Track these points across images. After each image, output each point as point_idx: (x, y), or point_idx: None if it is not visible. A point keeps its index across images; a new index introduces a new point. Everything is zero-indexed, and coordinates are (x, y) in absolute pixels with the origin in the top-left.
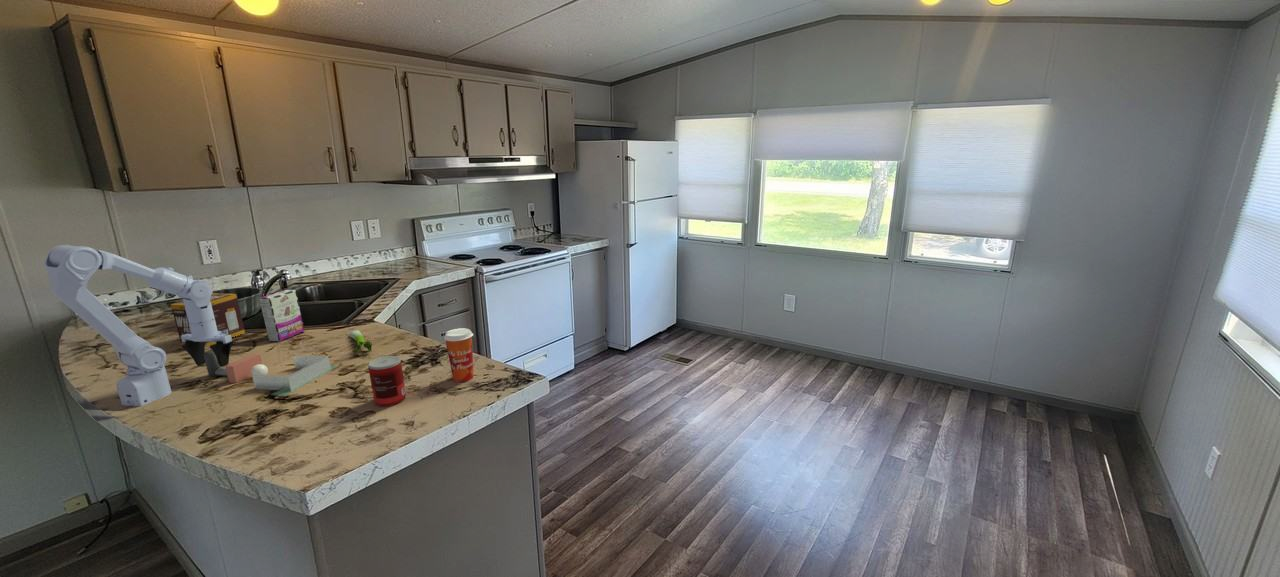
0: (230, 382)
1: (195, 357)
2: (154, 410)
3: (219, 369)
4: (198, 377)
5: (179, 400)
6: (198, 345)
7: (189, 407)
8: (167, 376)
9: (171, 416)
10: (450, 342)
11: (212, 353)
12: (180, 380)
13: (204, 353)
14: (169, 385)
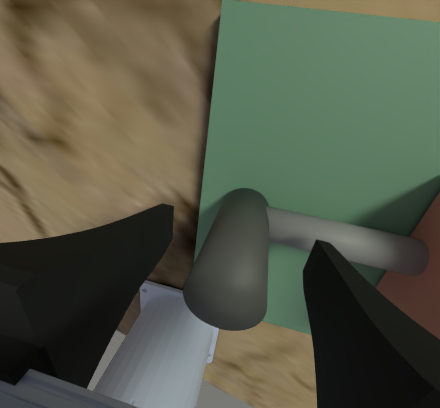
0: None
1: (143, 278)
2: (231, 362)
3: (279, 240)
4: (155, 173)
5: (250, 332)
6: (87, 315)
7: (312, 373)
8: (180, 368)
9: (300, 396)
10: None
11: (259, 321)
12: (114, 194)
13: (196, 310)
14: (199, 343)
